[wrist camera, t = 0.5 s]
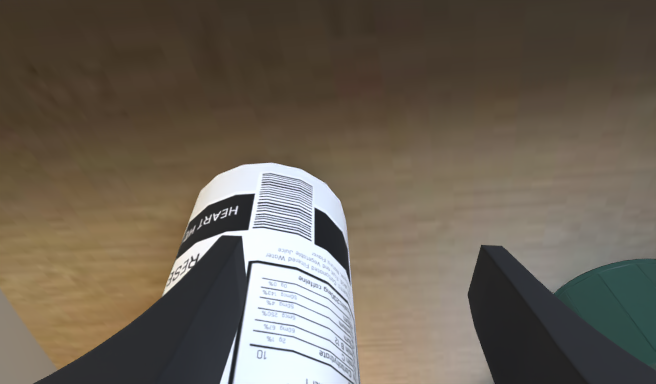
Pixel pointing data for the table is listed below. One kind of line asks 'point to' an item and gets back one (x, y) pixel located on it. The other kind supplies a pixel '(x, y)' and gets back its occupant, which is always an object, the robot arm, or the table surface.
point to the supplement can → (281, 274)
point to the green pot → (618, 304)
